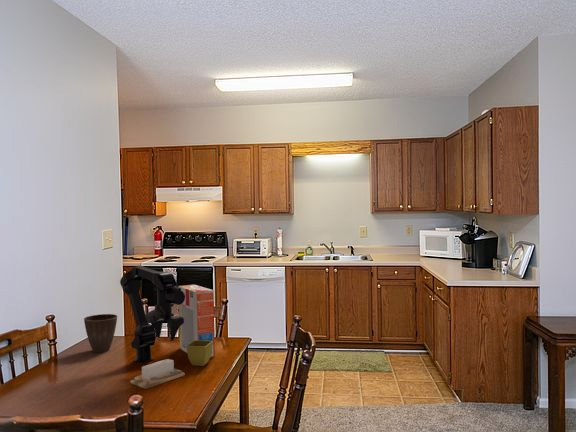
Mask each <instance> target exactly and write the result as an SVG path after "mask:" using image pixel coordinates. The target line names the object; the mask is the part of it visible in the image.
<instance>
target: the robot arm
mask: <svg viewBox="0 0 576 432" xmlns="http://www.w3.org/2000/svg"><path fill="white" fill-rule="evenodd" d="M144 279H145V280H147V281H151V282H152V284H153V285H154V286H156V287H155V288H154V290H153V291H155V292H157V304H155V305H154V309H152V310H151V311H149V312H147V313H146V311H145V308H144V304H143V300H142V296H141V293H140V291H141V288H142V281H143V280H144ZM119 283H120V286H121V289H122V291H123V292H124V294H126V295H127V296H128V300H129V303H130V306H131V310H132V311H131V312H132V314H133V318H134V319H133V320H134V322H135V326H136V327H135V329H134V338H133V340H132V341H131V342H130V345H131V348H132V349H134V350H135V358H134V359H133V360H132V361H133V362H136V363H139V364H144V363H147V362H151V361H154V359H155V358H153V357H152V354H151V353H152V351H151V346H155V344H156V343H155V342H156V339H157V338H161V335H162V330H163V329H162V328H163V323H164V322H166V324H167V325H166V327H167V328H168V330H169V339H170V342H173V341H174V340H175V338H176V335H177V333H178V331H179V327H180V326H181V325H182V324H184V318H183V317H180V316H179V315H175V314H174V313H172V311H173V310H172V309H173V308H174V307H175V306H174V305H178V306H179V305H180V304H182V303H183V302H184V300H185V294H184V292H183V291H181V288H178V286H179V284H178V282H177V280H176V279H175V276H174V275H173V273H172V271H157V270H155V269H152V268H148V267H145V266H143V265H139V266H134V267H131V269H130V270H129V271H127V272H126V273H124V274H123V275H122V277H121V278H120V280H119ZM172 307H173V308H172Z"/></svg>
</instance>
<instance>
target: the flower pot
mask: <svg viewBox="0 0 576 432" xmlns="http://www.w3.org/2000/svg"><path fill="white" fill-rule="evenodd" d="M212 344H213V341H197V340H195V341H193V342H192V343H190V344H189V345H187V353H186V354H187V357H188V361H189V362H190V364H191V366H199V367H204V366H205V365H206V364H208V362H210V359H211V358H210V356H211V353H212Z"/></svg>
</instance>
